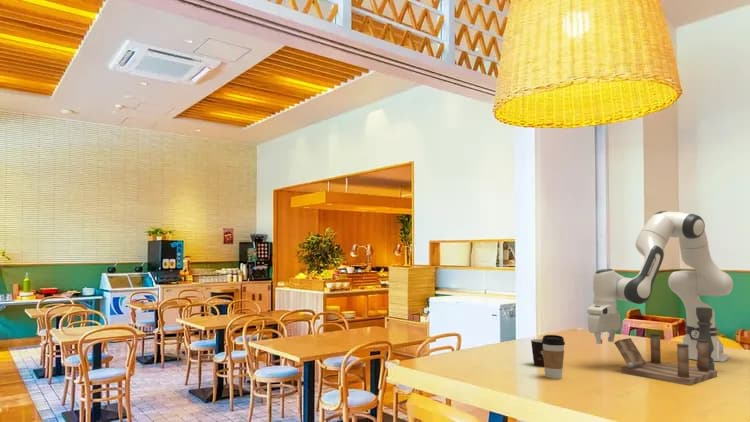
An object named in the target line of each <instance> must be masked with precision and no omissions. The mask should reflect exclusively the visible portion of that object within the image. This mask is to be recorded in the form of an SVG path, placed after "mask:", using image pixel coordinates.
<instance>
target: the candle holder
mask: <svg viewBox="0 0 750 422" xmlns="http://www.w3.org/2000/svg"><path fill="white" fill-rule="evenodd" d="M712 308H713V307H712ZM712 308H705V307H696V316H697V318H698V320H699V322H697V324H698V326H699V336H698V339H702V340H708V355H709V370H714V371H716V370H715V369H716V368H715V363H714V362H715V361H714V360H713V358H712V357H711V355H712V354H711V353H712V352H713V350H714V346H713V343H712V339H711V336H710V327H711V325H712V323H710V321H711V319H712ZM696 348H697V350H698V347H697V344H696ZM696 368H698V357H697V360H696Z"/></svg>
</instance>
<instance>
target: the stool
mask: <svg viewBox="0 0 750 422" xmlns="http://www.w3.org/2000/svg"><path fill="white" fill-rule="evenodd" d="M649 335H650V336H649V337H650V360H647V361H646V364H645V365H641V366H637V367H633V368H630V367H629V366H628V365H626V366H622V367H621V369H620V370H621V374H626V375H631V376H635V377H643V378H648V379H653V380H657V381H663V382H668V383H674V384H679V385H685V386H692V385H693V386H694V385H695V384H698V383H702V382H704V381H707V380H710V379H715V378H716V377H718V371H717V370H715V371H714V370H709V355H708V340H702V339H698V340H697V347H698V360H697V361H698V368H697V367H696V366H695V367H693V366H690V364H689V363H690V362H689V361H690V359H689V349H688V347H689V345H687V344H682V343H677V344H676V350H677V352H676V353H677V355H676V356H677V358H676V359H677V364H675V363H670V362H664V361H663V362H662V361H661V334H659V333H650V334H649Z"/></svg>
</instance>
